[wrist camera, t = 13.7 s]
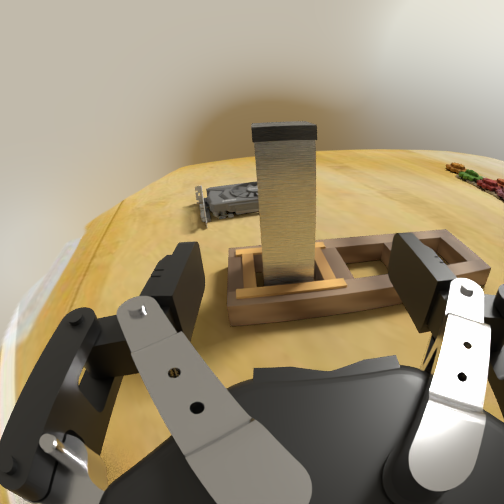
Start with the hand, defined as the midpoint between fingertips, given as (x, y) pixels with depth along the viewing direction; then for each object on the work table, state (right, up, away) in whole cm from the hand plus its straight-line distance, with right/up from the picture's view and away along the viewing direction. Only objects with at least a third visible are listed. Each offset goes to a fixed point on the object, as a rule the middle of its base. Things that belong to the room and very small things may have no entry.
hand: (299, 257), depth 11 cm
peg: (+1, -3, +14) cm, 15 cm away
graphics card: (-2, +7, +33) cm, 34 cm away
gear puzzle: (+60, +17, +43) cm, 76 cm away
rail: (+9, -2, +14) cm, 17 cm away
